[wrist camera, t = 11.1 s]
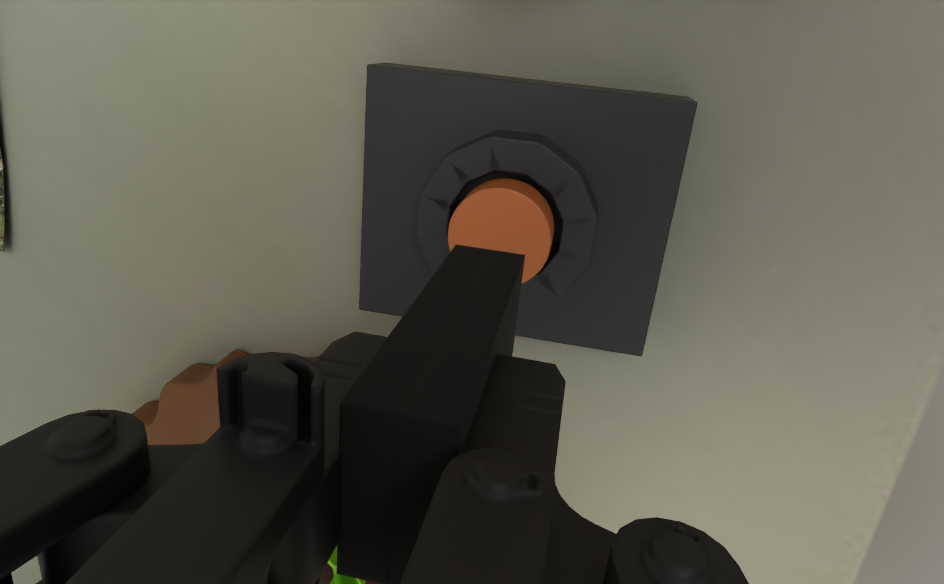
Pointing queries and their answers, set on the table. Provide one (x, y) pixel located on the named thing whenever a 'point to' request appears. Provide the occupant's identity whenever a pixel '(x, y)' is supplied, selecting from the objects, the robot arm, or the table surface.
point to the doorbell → (538, 164)
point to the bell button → (505, 222)
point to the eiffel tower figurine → (1, 205)
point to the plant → (201, 423)
